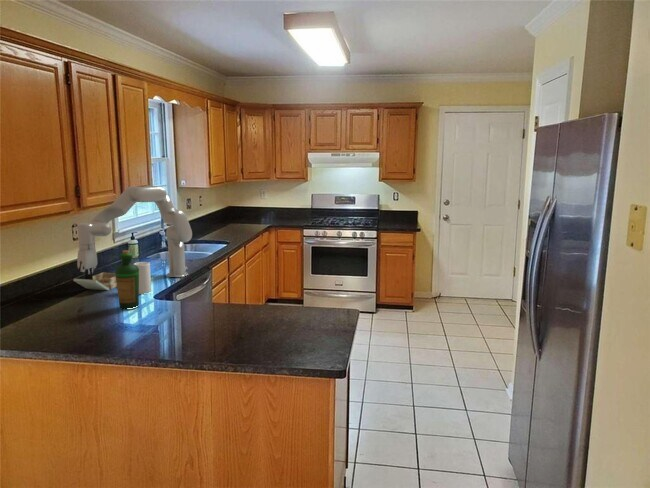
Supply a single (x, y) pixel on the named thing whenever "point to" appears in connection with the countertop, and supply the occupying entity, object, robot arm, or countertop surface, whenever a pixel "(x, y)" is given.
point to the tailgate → (91, 284)
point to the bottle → (127, 282)
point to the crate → (106, 279)
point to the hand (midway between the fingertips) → (89, 281)
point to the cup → (144, 277)
